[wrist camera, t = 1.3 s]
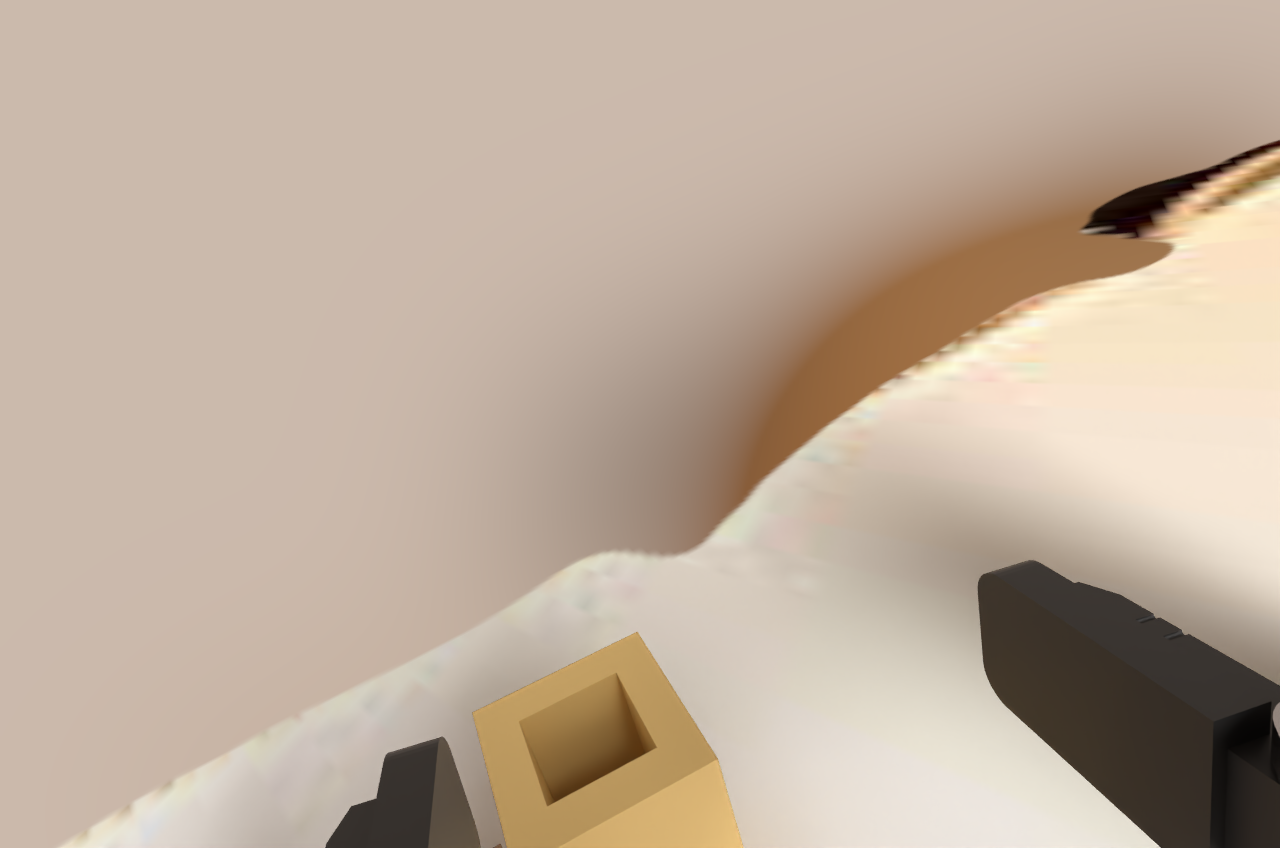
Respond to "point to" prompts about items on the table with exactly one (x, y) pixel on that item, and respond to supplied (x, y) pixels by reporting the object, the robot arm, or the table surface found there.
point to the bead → (604, 760)
